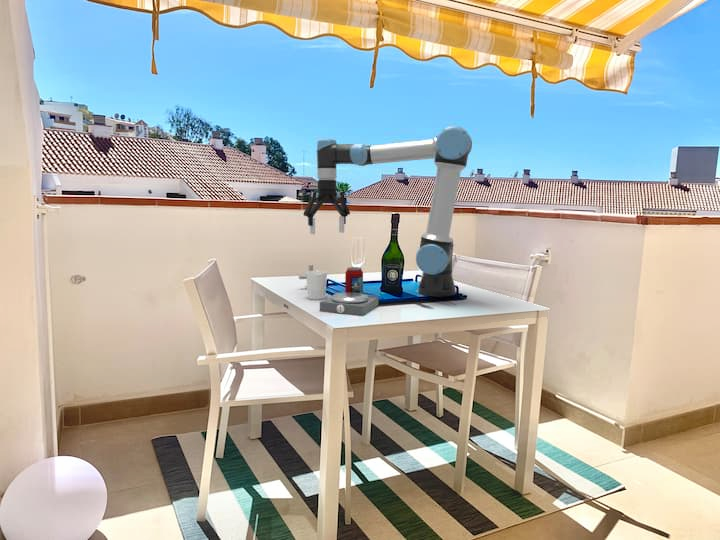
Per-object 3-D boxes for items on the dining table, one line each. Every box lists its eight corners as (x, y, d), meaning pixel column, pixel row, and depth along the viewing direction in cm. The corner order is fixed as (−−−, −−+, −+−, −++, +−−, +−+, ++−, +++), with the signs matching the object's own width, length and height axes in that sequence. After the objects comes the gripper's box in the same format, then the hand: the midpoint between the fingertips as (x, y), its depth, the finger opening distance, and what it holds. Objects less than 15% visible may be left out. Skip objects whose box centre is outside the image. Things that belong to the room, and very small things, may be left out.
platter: (373, 297, 180) (373, 294, 180) (360, 304, 168) (360, 302, 168) (340, 294, 184) (340, 291, 184) (325, 301, 172) (325, 298, 172)
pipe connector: (296, 287, 212) (295, 263, 210) (318, 285, 216) (318, 262, 214) (303, 291, 203) (303, 267, 201) (326, 289, 207) (326, 266, 205)
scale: (378, 305, 181) (378, 296, 181) (362, 316, 166) (362, 306, 165) (338, 301, 187) (338, 292, 186) (318, 311, 172) (318, 301, 171)
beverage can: (356, 301, 186) (357, 270, 184) (341, 299, 190) (342, 268, 188) (366, 298, 192) (366, 267, 190) (351, 296, 196) (351, 266, 194)
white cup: (315, 294, 198) (315, 270, 196) (330, 297, 193) (331, 272, 191) (302, 298, 191) (302, 272, 190) (317, 301, 187) (317, 275, 185)
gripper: (348, 179, 205) (348, 231, 209) (294, 179, 191) (295, 234, 195) (358, 179, 199) (358, 232, 203) (303, 179, 185) (304, 235, 189)
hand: (327, 233), depth 199 cm, fingers open, 13 cm apart
